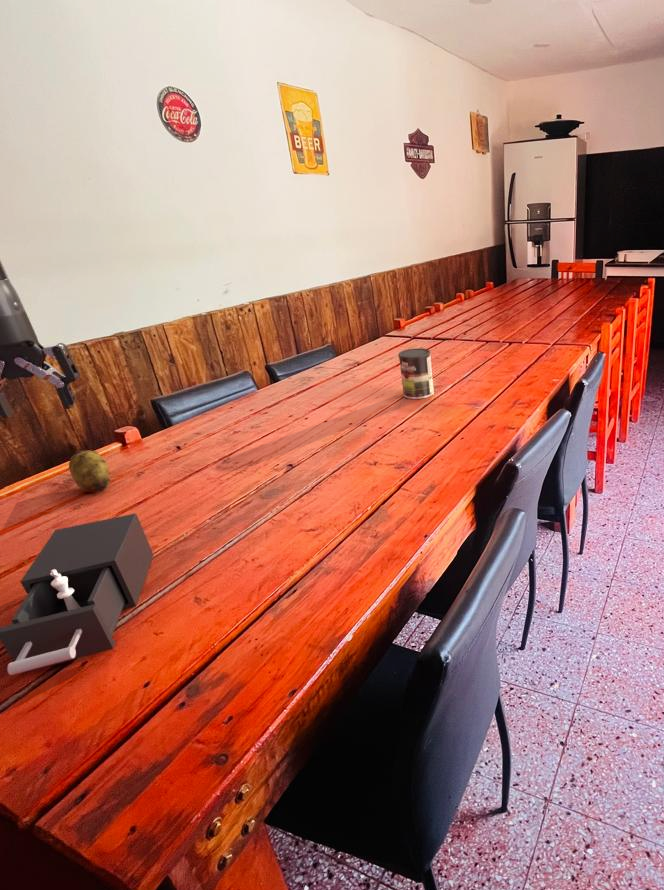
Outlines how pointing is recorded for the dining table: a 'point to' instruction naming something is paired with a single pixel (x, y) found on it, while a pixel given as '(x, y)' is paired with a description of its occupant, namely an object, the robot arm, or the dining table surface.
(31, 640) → the dark grey drawer
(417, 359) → the coffee can
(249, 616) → the dining table surface
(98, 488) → the potato
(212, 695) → the dining table surface
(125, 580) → the small drawer cabinet
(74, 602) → the chess piece
